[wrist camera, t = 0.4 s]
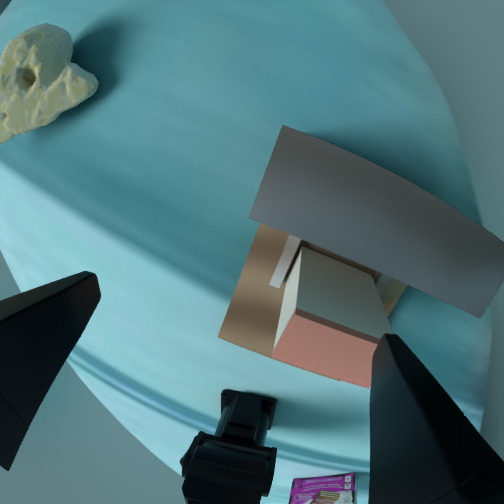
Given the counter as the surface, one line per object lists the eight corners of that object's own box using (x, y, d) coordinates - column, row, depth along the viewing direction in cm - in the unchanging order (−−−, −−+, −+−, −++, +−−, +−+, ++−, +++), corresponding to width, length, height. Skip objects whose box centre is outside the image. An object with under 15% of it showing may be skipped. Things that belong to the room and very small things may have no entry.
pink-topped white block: (353, 305, 23) (368, 388, 14) (287, 279, 23) (271, 357, 14) (371, 275, 21) (398, 351, 13) (301, 245, 22) (294, 314, 13)
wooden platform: (340, 371, 27) (342, 461, 17) (221, 328, 28) (181, 413, 18) (440, 203, 20) (517, 253, 10) (295, 133, 20) (282, 124, 10)
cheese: (125, 25, 20) (7, 9, 12) (113, 43, 17) (-29, 29, 8) (86, 135, 30) (-11, 121, 22) (74, 173, 27) (-34, 157, 18)
